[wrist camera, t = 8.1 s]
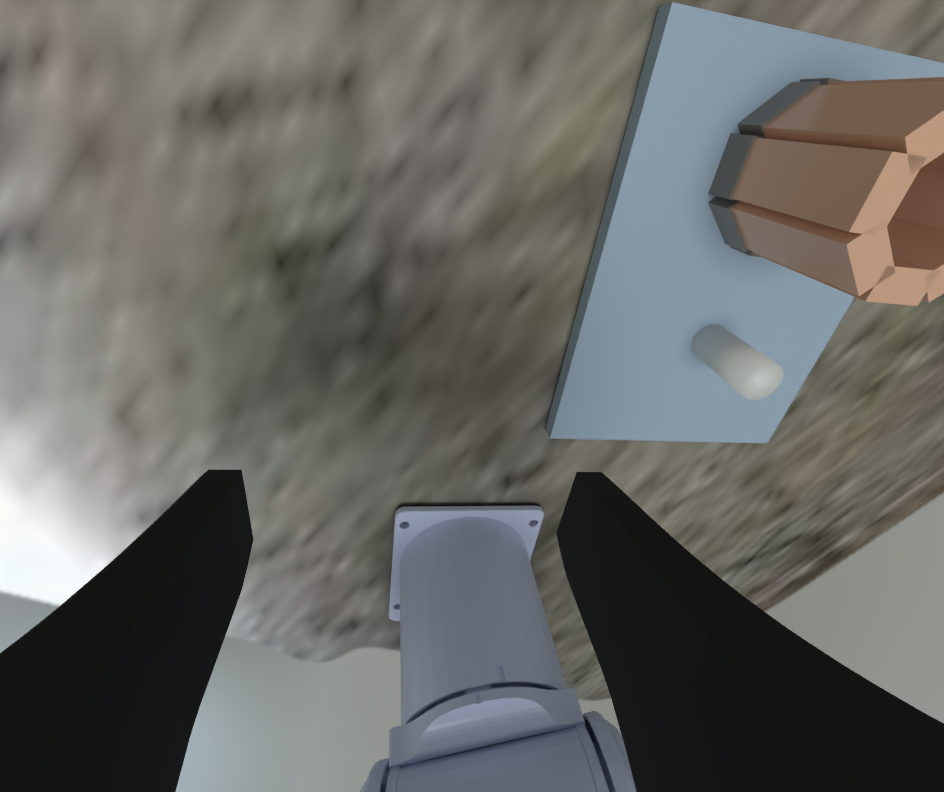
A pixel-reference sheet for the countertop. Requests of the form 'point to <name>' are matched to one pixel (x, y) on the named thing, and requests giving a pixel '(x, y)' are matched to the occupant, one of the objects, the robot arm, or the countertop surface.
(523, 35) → the countertop surface
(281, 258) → the countertop surface
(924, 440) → the countertop surface
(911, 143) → the sleeve
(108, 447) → the countertop surface
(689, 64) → the pin board
